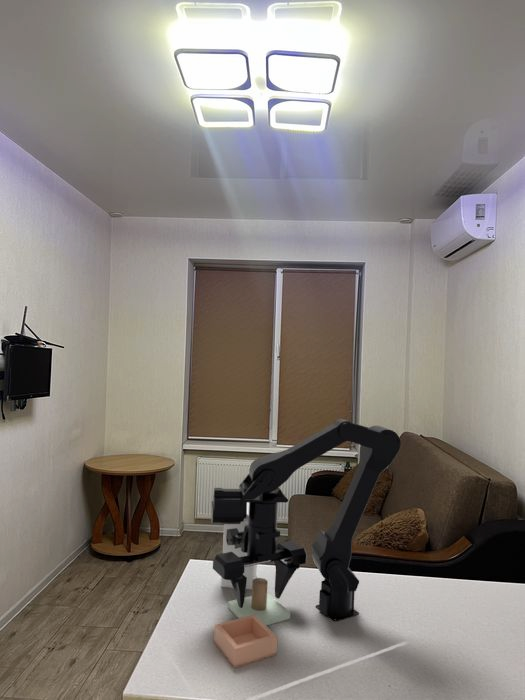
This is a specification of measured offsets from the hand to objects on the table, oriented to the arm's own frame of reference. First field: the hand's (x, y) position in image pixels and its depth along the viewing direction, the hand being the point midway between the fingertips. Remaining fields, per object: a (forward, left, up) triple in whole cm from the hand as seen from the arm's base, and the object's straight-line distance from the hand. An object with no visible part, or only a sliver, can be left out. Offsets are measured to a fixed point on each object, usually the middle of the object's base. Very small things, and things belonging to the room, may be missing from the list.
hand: (259, 602), depth 96 cm
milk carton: (-3, -14, -3) cm, 15 cm away
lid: (0, 0, -2) cm, 2 cm away
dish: (+8, +9, -3) cm, 12 cm away
